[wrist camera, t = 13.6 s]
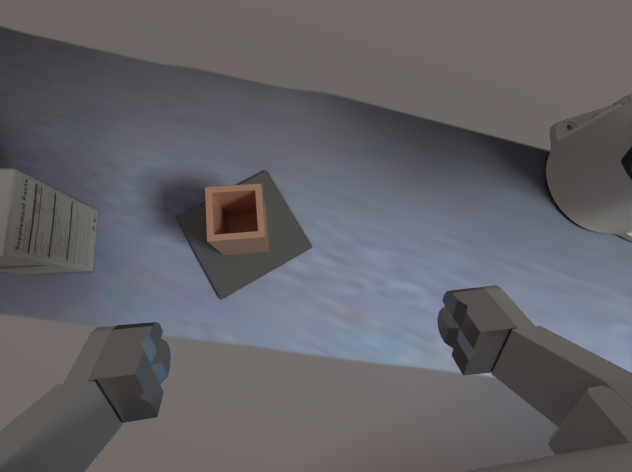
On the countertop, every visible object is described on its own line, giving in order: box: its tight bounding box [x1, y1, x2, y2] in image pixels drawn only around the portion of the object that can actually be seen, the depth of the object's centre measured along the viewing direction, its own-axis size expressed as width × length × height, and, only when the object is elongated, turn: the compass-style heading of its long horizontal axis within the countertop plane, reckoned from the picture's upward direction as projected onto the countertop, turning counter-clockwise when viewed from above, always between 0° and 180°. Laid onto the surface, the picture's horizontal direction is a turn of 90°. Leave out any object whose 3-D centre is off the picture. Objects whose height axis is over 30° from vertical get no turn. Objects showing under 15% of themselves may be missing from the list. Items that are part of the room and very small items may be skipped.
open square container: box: [205, 184, 269, 255], centre depth 35 cm, size 5×5×8 cm
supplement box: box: [0, 168, 98, 275], centre depth 31 cm, size 7×7×13 cm
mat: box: [176, 171, 312, 299], centre depth 39 cm, size 12×11×1 cm
